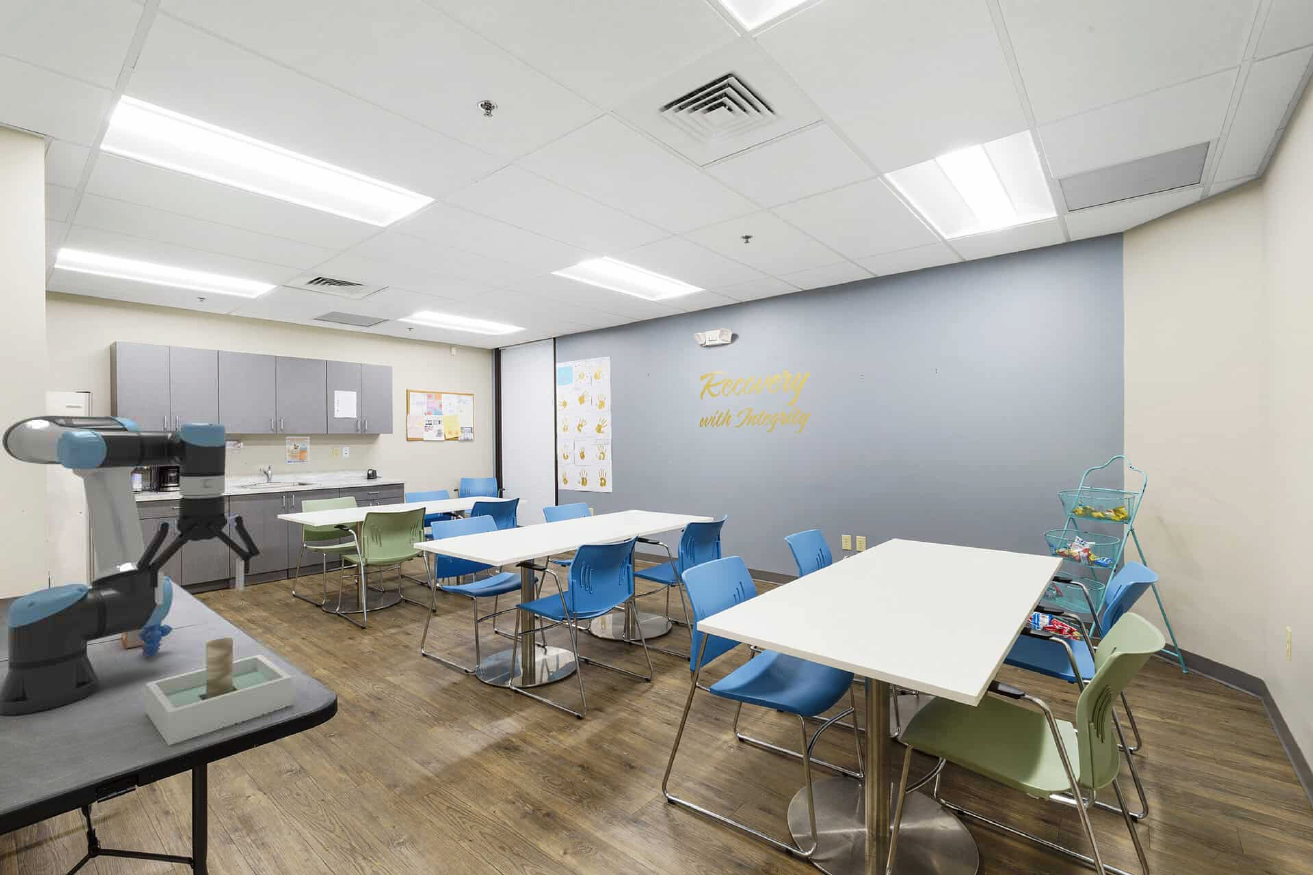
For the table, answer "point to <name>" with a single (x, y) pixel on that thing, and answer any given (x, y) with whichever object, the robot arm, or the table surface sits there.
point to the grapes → (153, 638)
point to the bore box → (216, 699)
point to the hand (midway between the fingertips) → (201, 596)
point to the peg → (219, 667)
